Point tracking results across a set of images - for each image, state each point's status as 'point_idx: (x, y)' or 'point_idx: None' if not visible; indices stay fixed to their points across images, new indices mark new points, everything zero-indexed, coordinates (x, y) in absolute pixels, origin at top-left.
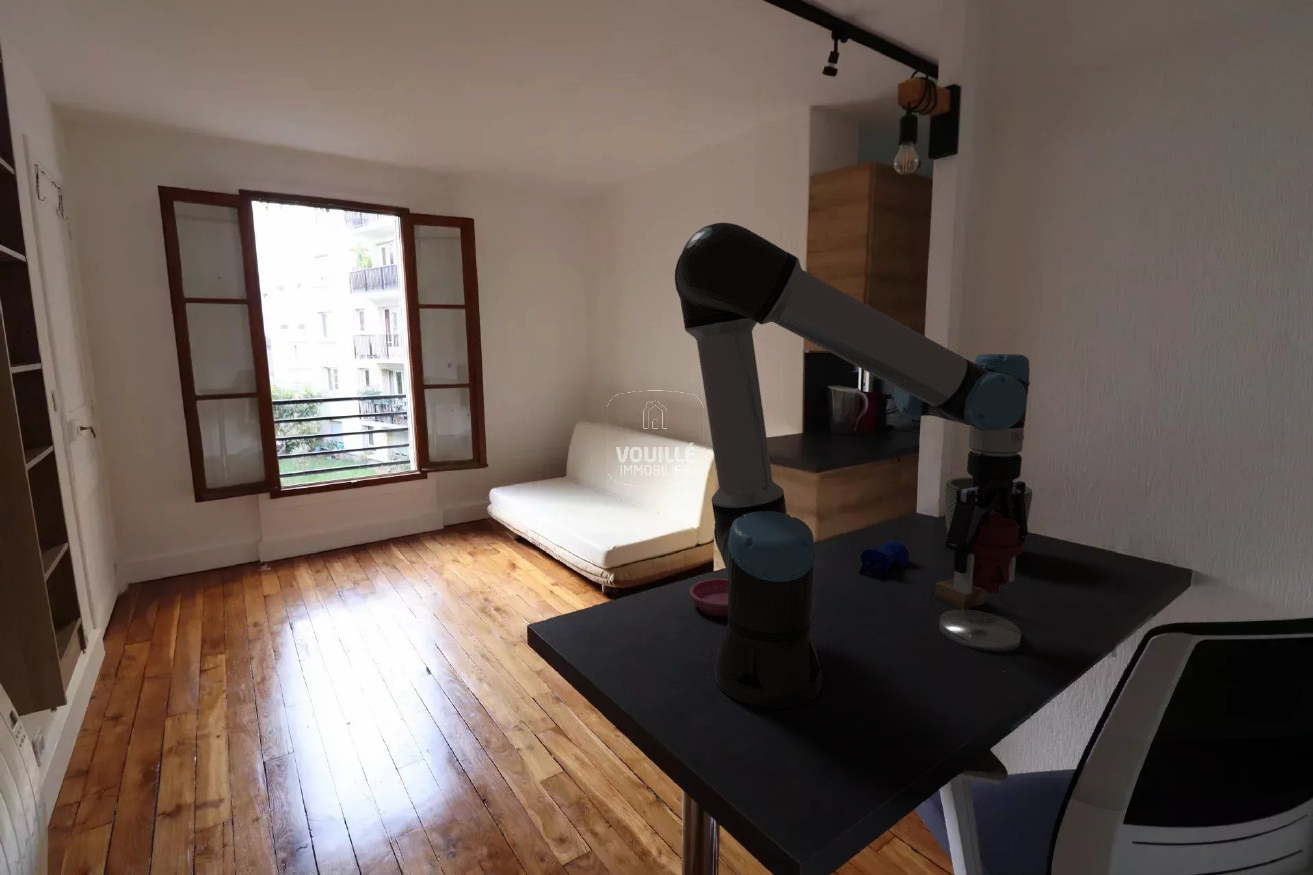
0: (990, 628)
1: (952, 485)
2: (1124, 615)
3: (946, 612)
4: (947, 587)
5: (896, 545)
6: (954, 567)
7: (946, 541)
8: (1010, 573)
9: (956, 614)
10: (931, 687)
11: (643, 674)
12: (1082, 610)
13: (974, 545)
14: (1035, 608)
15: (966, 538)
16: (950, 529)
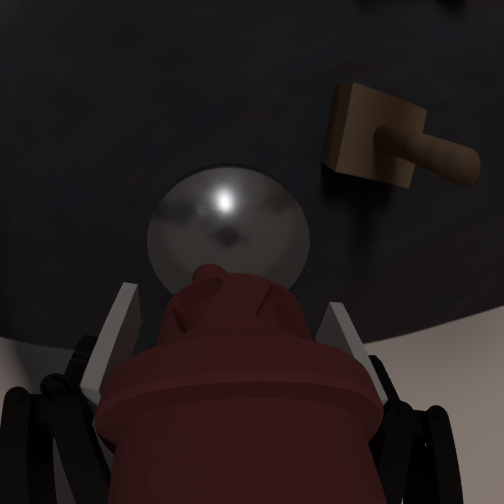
0: (233, 269)
1: None
2: (452, 318)
3: (229, 170)
4: (346, 118)
5: None
6: (78, 345)
7: (3, 409)
8: None
9: (239, 191)
10: (25, 285)
11: None
12: (447, 288)
13: (112, 451)
14: (422, 247)
15: (53, 469)
16: (1, 458)
